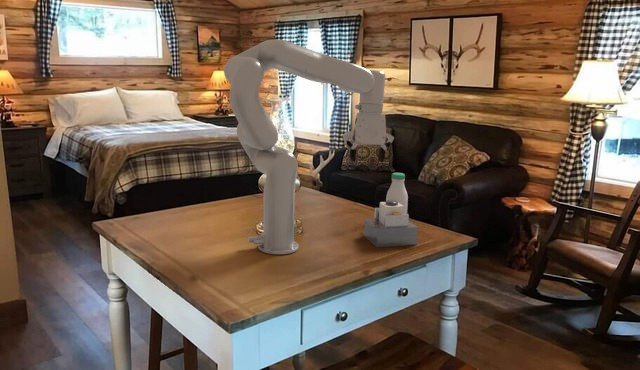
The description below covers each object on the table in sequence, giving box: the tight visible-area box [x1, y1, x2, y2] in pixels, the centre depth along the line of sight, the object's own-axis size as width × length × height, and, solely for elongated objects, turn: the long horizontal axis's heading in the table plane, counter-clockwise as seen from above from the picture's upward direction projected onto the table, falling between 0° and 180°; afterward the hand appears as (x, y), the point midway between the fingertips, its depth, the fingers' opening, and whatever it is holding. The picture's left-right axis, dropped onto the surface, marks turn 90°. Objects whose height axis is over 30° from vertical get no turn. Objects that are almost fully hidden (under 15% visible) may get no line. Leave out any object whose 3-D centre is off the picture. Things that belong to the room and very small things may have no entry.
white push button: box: [379, 200, 404, 224], centre depth 181 cm, size 6×6×7 cm
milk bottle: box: [385, 172, 409, 214], centre depth 194 cm, size 8×8×20 cm
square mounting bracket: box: [363, 207, 419, 248], centre depth 183 cm, size 16×12×11 cm
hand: (366, 161), depth 181 cm, fingers open, 9 cm apart
